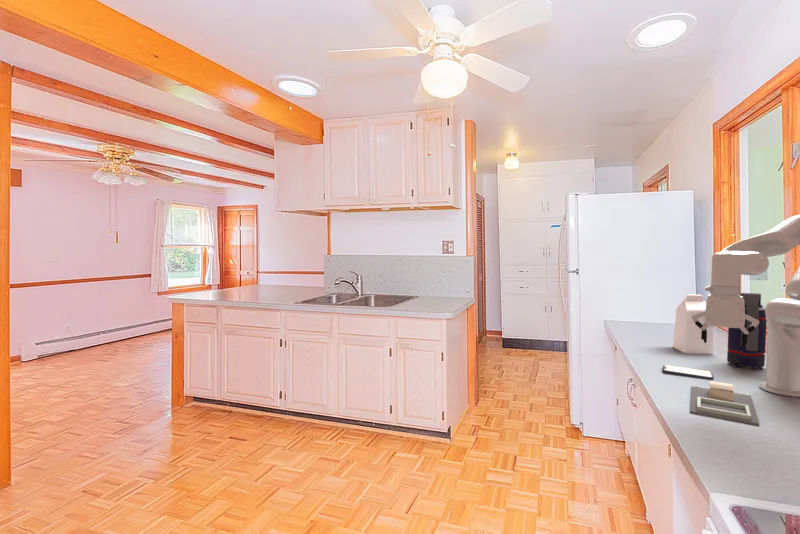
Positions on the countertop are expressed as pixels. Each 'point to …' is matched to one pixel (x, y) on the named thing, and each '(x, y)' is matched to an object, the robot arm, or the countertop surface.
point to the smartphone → (687, 372)
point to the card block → (721, 391)
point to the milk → (691, 327)
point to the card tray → (723, 412)
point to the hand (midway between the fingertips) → (723, 343)
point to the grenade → (749, 336)
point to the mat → (737, 399)
